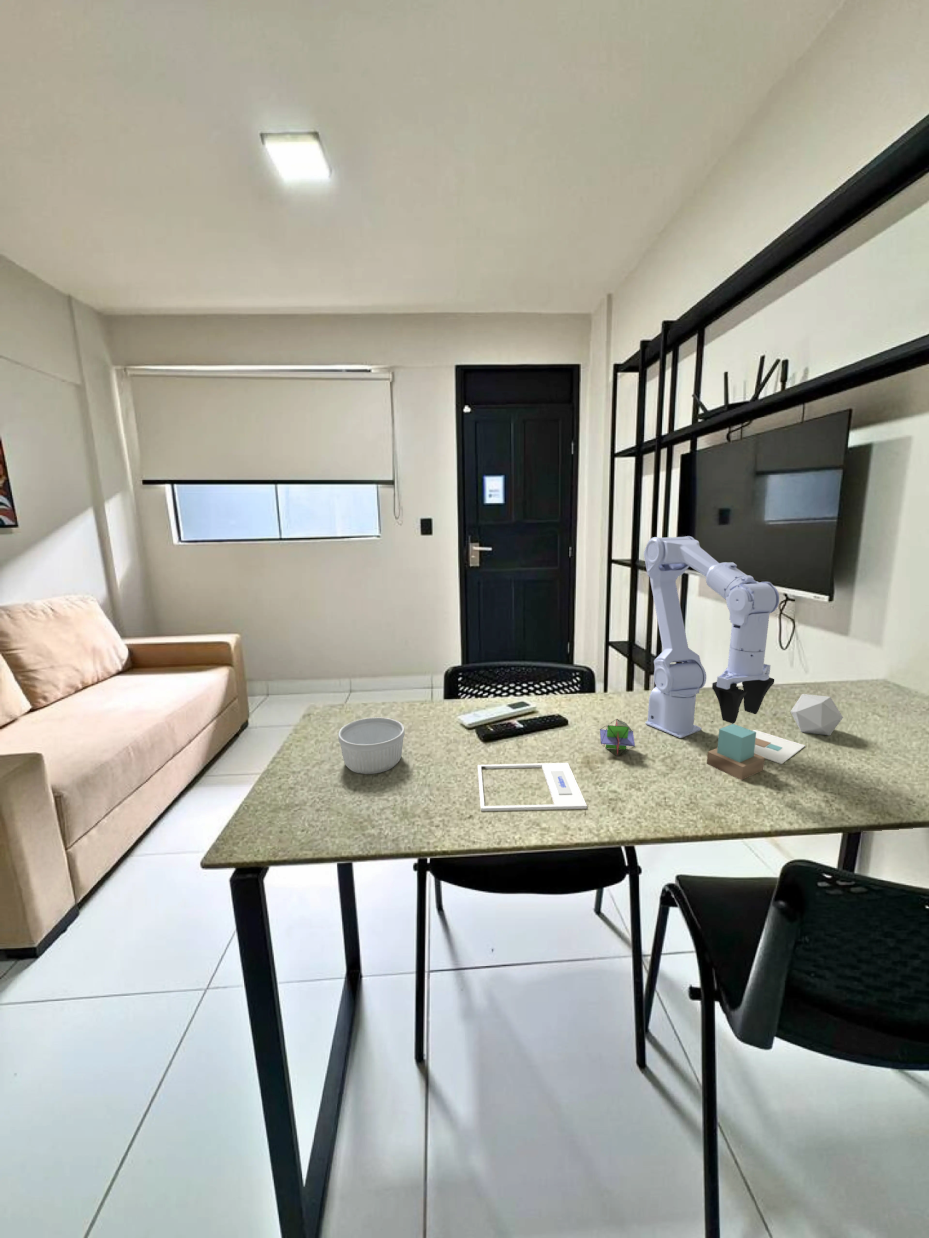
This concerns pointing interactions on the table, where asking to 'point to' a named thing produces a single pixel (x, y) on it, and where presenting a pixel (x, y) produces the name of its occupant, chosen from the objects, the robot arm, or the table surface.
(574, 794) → the photo frame
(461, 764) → the table surface
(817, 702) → the die
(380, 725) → the ramekin
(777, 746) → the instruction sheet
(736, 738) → the teal brick
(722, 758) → the brown block
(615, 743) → the geometric puzzle
